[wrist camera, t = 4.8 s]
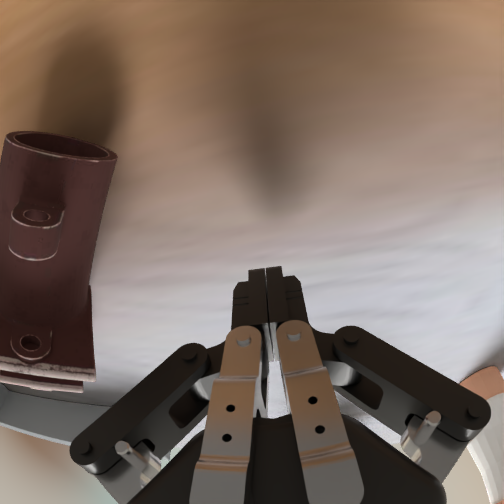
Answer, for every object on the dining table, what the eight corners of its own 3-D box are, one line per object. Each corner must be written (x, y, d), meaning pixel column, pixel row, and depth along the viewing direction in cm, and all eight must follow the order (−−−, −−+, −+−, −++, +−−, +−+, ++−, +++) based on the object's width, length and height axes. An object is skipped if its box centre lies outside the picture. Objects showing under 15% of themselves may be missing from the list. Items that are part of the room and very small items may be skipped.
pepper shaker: (438, 410, 29) (477, 544, 13) (461, 375, 25) (516, 531, 9) (482, 395, 29) (525, 515, 13) (507, 359, 25) (565, 493, 9)
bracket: (10, 346, 19) (0, 453, 11) (27, 122, 14) (-43, 152, 6) (78, 356, 22) (91, 463, 14) (119, 143, 17) (133, 188, 9)
